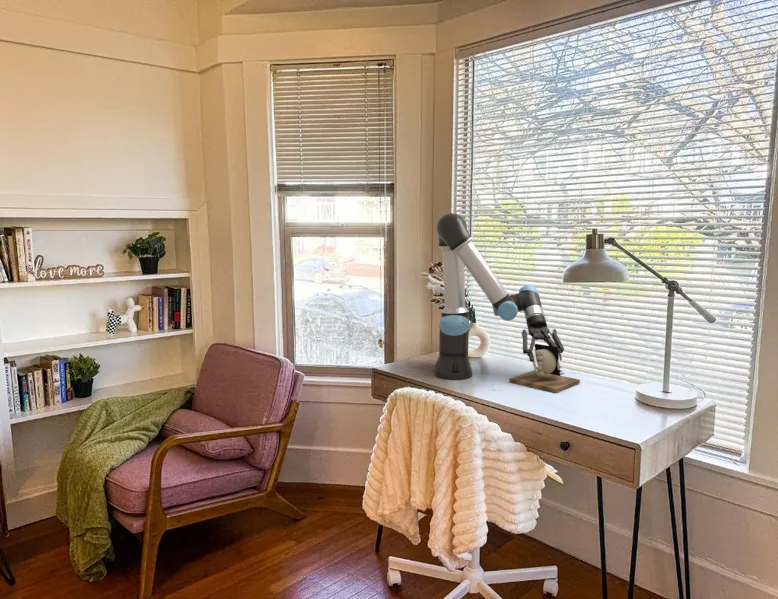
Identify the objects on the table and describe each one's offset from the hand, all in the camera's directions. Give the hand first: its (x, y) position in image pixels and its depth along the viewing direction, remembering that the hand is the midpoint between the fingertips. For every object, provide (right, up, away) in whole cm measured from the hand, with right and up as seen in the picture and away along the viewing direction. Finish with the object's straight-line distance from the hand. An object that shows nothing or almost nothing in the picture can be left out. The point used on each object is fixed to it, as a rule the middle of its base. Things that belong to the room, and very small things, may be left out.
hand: (548, 368), depth 220 cm
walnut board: (0, -6, +4) cm, 7 cm away
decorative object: (0, -3, +4) cm, 5 cm away
